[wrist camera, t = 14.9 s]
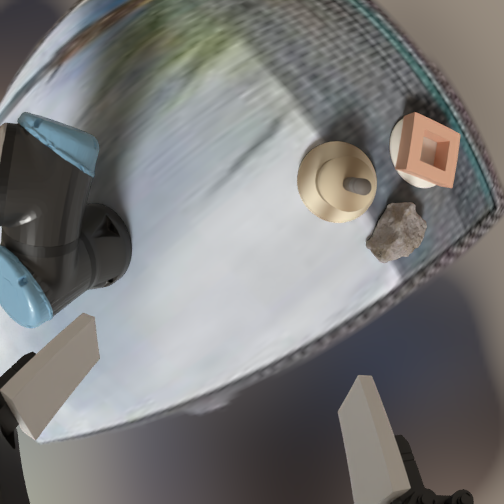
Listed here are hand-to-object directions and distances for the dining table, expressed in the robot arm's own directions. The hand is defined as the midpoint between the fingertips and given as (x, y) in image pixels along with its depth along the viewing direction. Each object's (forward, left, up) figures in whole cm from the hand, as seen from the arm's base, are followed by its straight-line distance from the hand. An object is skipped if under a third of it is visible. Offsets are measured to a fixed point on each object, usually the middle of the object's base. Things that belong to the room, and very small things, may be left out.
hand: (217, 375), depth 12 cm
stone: (+21, +5, -32) cm, 39 cm away
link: (+23, +19, -31) cm, 43 cm away
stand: (+10, +10, -32) cm, 35 cm away
